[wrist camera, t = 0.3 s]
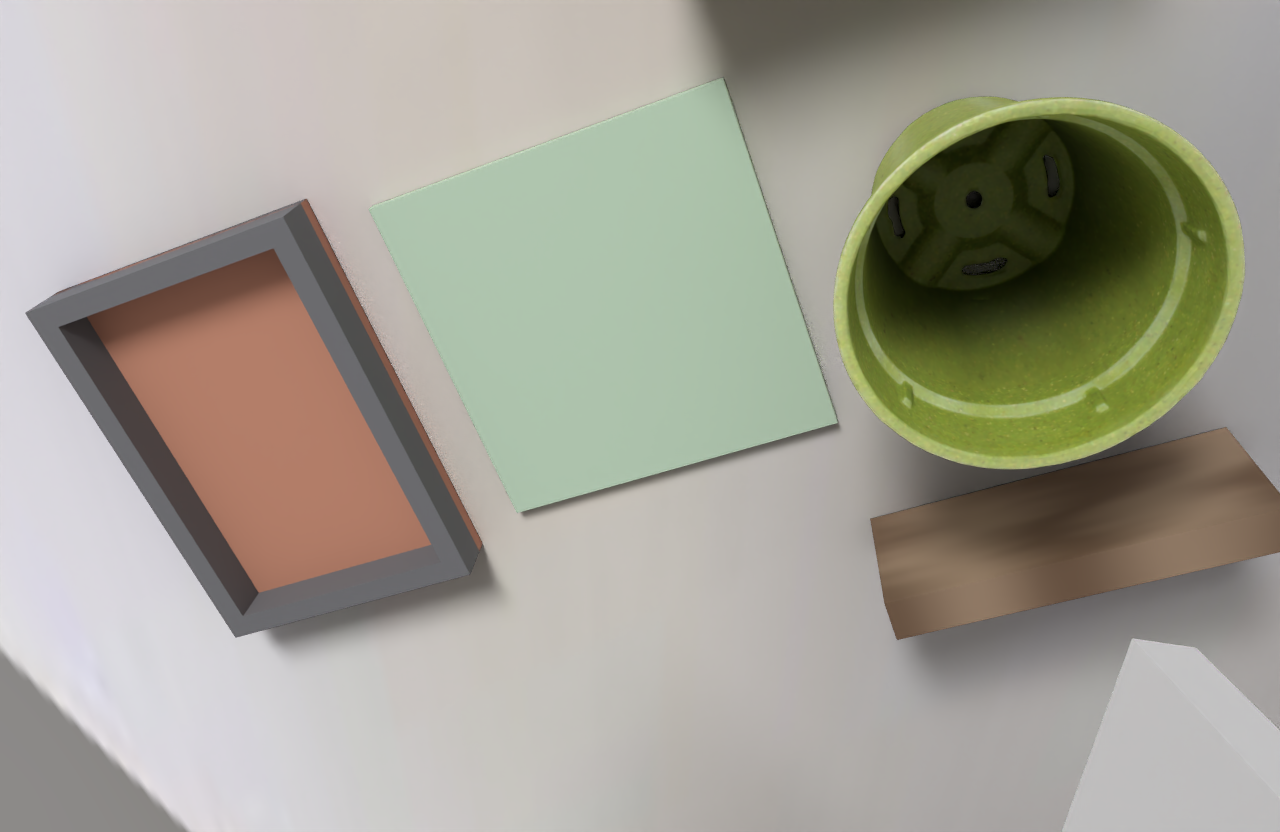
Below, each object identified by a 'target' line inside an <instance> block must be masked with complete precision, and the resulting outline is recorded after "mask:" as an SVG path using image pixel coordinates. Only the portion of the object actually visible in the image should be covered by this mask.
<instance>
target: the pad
mask: <svg viewBox="0 0 1280 832" xmlns="http://www.w3.org/2000/svg"><path fill="white" fill-rule="evenodd" d="M369 211H370V213H371V215H372V217H373V219H374V221H375V223H376V225H377V227H378V229H379V231H380V233H381V235H382V237H383V240H384V242H385V244H386V246H387V248H388V250H389V252H390V254H391V256H392V258H393V260H394V262H395V264H396V266H397V268H398V270H399V272H400V274H401V276H402V278H403V281H404V283H405V285H406V287H407V289H408V291H409V293H410V295H411V297H412V299H413V301H414V303H415V305H416V307H417V309H418V311H419V313H420V315H421V317H422V319H423V321H424V324H425V326H426V328H427V330H428V332H429V334H430V336H431V338H432V340H433V342H434V344H435V346H436V348H437V350H438V352H439V354H440V356H441V358H442V360H443V362H444V364H445V367H446V369H447V371H448V373H449V375H450V377H451V379H452V381H453V383H454V385H455V387H456V389H457V391H458V393H459V395H460V397H461V399H462V401H463V403H464V405H465V407H466V410H467V412H468V414H469V416H470V418H471V420H472V422H473V424H474V426H475V428H476V430H477V432H478V434H479V436H480V438H481V440H482V442H483V444H484V446H485V448H486V450H487V453H488V455H489V457H490V459H491V461H492V463H493V465H494V467H495V469H496V471H497V473H498V475H499V477H500V479H501V481H502V483H503V485H504V487H505V489H506V491H507V494H508V496H509V498H510V500H511V502H512V504H513V506H514V508H515V510H516V512H517V513H519V512H522V511H526V510H529V509H533V508H536V507H540V506H544V505H547V504H551V503H554V502H558V501H561V500H565V499H569V498H572V497H576V496H579V495H583V494H586V493H590V492H593V491H597V490H601V489H604V488H608V487H611V486H615V485H618V484H622V483H625V482H629V481H633V480H636V479H640V478H643V477H647V476H650V475H654V474H658V473H661V472H665V471H668V470H672V469H675V468H679V467H682V466H686V465H690V464H693V463H697V462H700V461H704V460H707V459H711V458H714V457H718V456H722V455H725V454H729V453H732V452H736V451H739V450H743V449H747V448H750V447H754V446H757V445H761V444H764V443H768V442H771V441H775V440H779V439H782V438H786V437H789V436H793V435H796V434H800V433H803V432H807V431H811V430H814V429H818V428H821V427H825V426H828V425H832V424H836V423H838V421H837V416H836V413H835V410H834V407H833V404H832V401H831V398H830V395H829V392H828V389H827V386H826V383H825V380H824V377H823V374H822V371H821V368H820V365H819V362H818V359H817V356H816V353H815V350H814V347H813V344H812V341H811V338H810V335H809V332H808V329H807V326H806V323H805V320H804V317H803V314H802V311H801V308H800V305H799V302H798V299H797V296H796V293H795V290H794V287H793V284H792V281H791V278H790V275H789V272H788V269H787V266H786V263H785V260H784V257H783V254H782V251H781V248H780V245H779V242H778V239H777V236H776V233H775V230H774V227H773V224H772V221H771V218H770V215H769V212H768V209H767V206H766V203H765V200H764V197H763V194H762V191H761V188H760V185H759V182H758V179H757V176H756V173H755V170H754V167H753V164H752V161H751V158H750V155H749V152H748V149H747V146H746V143H745V140H744V137H743V134H742V131H741V128H740V125H739V122H738V119H737V116H736V113H735V110H734V107H733V104H732V101H731V98H730V95H729V92H728V89H727V86H726V83H725V80H724V77H722V78H719V79H717V80H714V81H711V82H709V83H706V84H703V85H700V86H698V87H695V88H692V89H689V90H687V91H684V92H681V93H679V94H676V95H673V96H670V97H668V98H665V99H662V100H660V101H657V102H654V103H651V104H649V105H646V106H643V107H640V108H638V109H635V110H632V111H630V112H627V113H624V114H621V115H619V116H616V117H613V118H611V119H608V120H605V121H602V122H600V123H597V124H594V125H591V126H589V127H586V128H583V129H581V130H578V131H575V132H572V133H570V134H567V135H564V136H562V137H559V138H556V139H553V140H551V141H548V142H545V143H542V144H540V145H537V146H534V147H532V148H529V149H526V150H523V151H521V152H518V153H515V154H513V155H510V156H507V157H504V158H502V159H499V160H496V161H493V162H491V163H488V164H485V165H483V166H480V167H477V168H474V169H472V170H469V171H466V172H464V173H461V174H458V175H455V176H453V177H450V178H447V179H444V180H442V181H439V182H436V183H434V184H431V185H428V186H425V187H423V188H420V189H417V190H415V191H412V192H409V193H406V194H404V195H401V196H398V197H395V198H393V199H390V200H387V201H385V202H382V203H379V204H376V205H374V206H372V207H371V208H370V209H369Z"/></svg>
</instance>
